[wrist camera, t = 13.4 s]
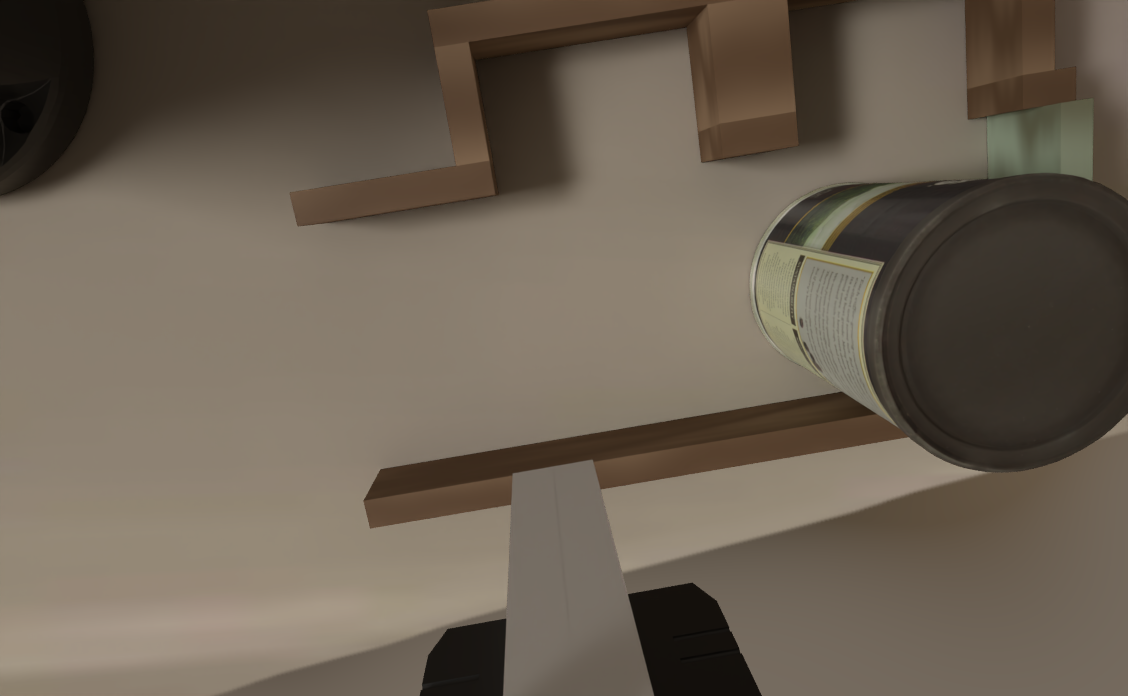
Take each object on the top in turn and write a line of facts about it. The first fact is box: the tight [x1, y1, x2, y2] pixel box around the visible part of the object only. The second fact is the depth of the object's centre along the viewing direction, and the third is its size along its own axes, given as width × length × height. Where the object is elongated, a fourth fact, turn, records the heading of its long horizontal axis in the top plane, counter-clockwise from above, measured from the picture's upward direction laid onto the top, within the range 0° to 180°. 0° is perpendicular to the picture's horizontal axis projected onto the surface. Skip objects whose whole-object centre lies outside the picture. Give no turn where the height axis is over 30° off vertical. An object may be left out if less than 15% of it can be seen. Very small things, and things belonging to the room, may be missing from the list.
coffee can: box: [750, 173, 1128, 472], centre depth 30 cm, size 10×10×14 cm
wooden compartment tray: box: [290, 0, 1094, 528], centre depth 33 cm, size 23×36×5 cm, turn 99°
